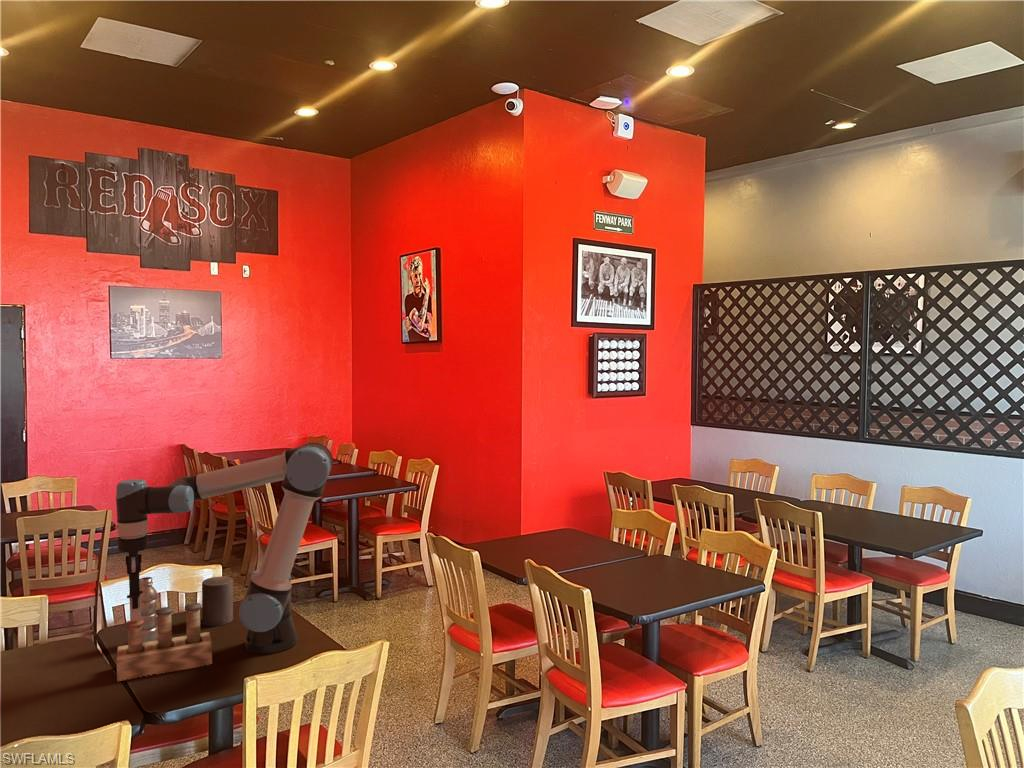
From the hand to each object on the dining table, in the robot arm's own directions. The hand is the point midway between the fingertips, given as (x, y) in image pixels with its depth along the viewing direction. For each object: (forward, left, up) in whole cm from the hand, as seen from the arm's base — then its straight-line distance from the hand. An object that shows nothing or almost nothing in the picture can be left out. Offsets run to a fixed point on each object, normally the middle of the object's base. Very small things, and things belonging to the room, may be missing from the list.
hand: (135, 618), depth 204 cm
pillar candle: (+1, -39, -15) cm, 42 cm away
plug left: (-11, -10, -9) cm, 18 cm away
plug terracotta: (0, 0, -12) cm, 12 cm away
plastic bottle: (+11, -18, -15) cm, 26 cm away
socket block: (-6, -5, -15) cm, 17 cm away
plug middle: (-6, -5, -9) cm, 12 cm away
